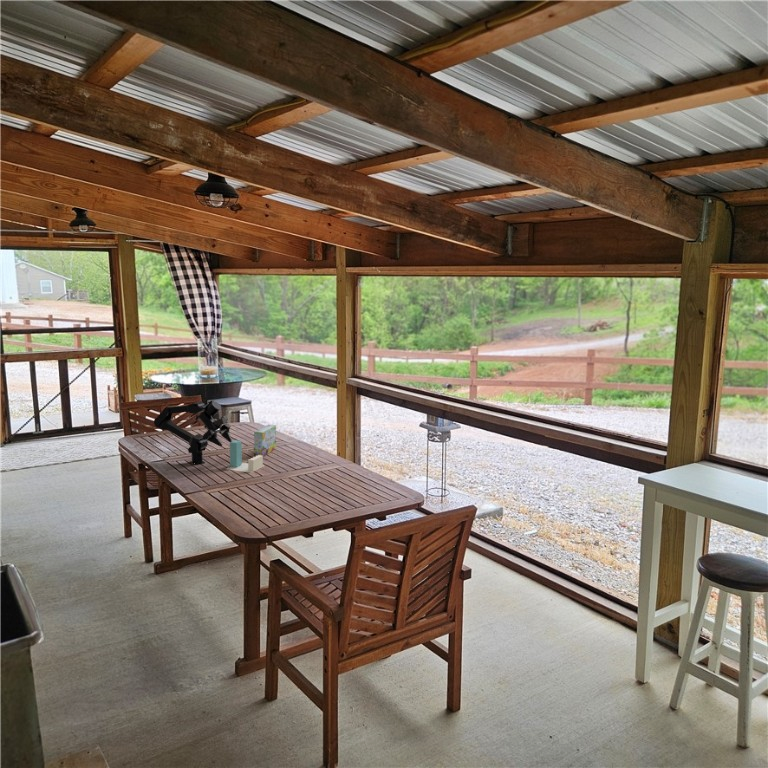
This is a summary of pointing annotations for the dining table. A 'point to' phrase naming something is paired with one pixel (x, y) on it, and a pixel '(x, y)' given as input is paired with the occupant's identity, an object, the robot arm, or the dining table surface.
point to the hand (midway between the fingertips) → (226, 443)
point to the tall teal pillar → (235, 453)
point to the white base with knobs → (250, 465)
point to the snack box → (264, 440)
